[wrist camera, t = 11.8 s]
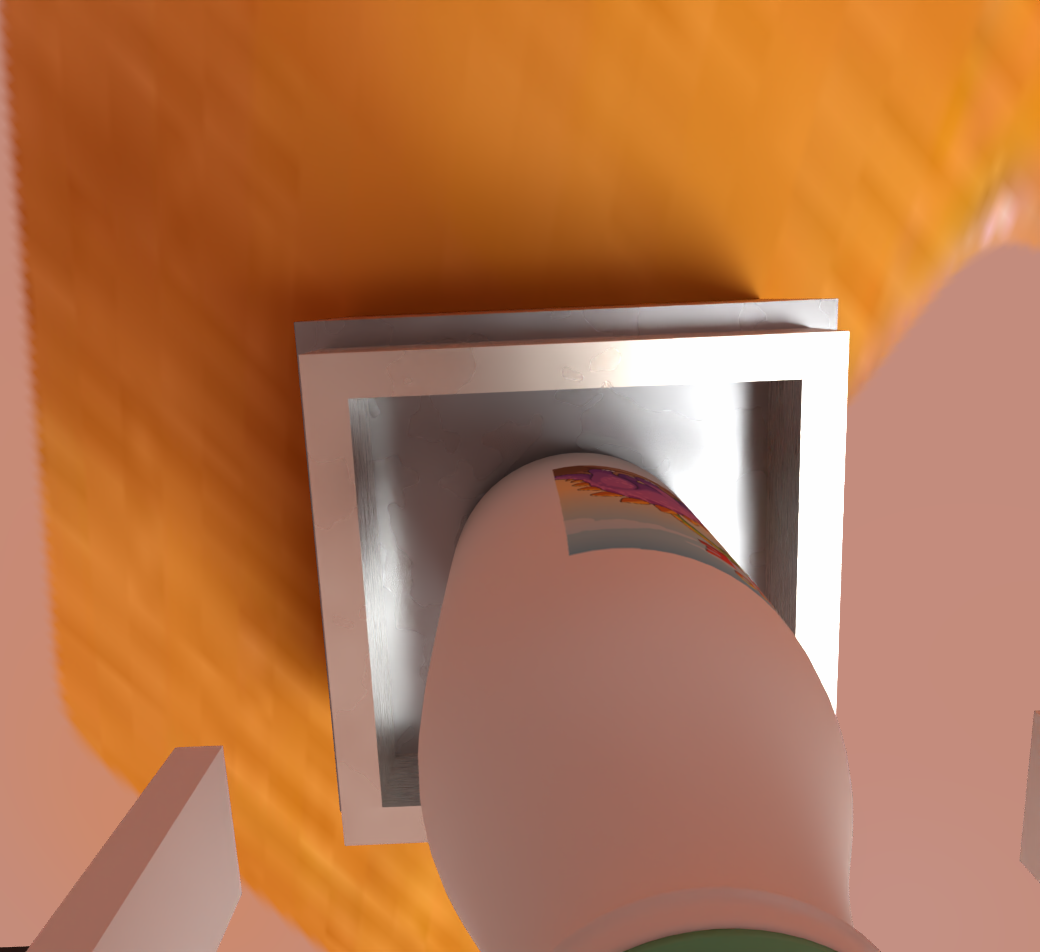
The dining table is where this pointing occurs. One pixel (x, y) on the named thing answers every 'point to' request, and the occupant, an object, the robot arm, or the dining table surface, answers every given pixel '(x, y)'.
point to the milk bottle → (626, 733)
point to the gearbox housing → (538, 434)
